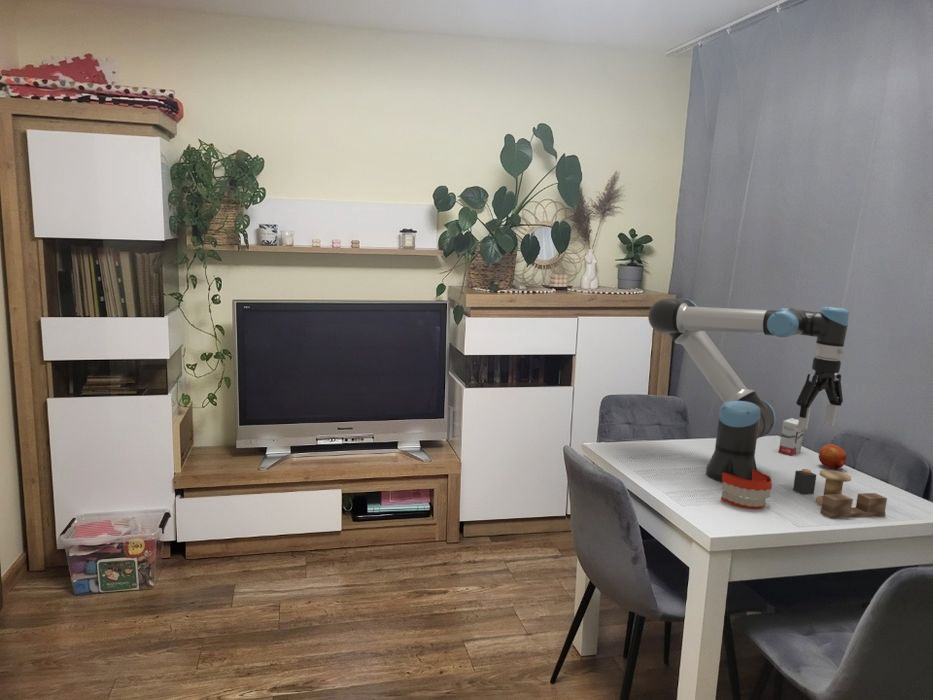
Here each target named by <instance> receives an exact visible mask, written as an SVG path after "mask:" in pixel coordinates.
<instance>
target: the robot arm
mask: <svg viewBox="0 0 933 700" xmlns="http://www.w3.org/2000/svg"><path fill="white" fill-rule="evenodd" d="M849 313H850V312H849V310H848V309H846V308H842V307H835V306H834V307H833V306H823V307H821V310H820V312H819V311H809V310H804V309H803V310H802V309H797V308H791V307H790V308H785V307H784V308H783V307H782V308H780V309H779V310H773V309H770V310H769V309H752V308H749V309H748V308H730V307H728V308H725V307H709V306H708V307H707V306H697V304H696V303H695V302H694V301H692V300H689V299H688V298H682V297H677V298H663V299H659V300H658V301H656V302H654V303H653V304H652V305H651V307H650V308H649V311H648V315H647V318H648V323H649V325H650V326H651V328H652V329H653V330H654V331H656V332H657V333H659V334H665V335H666V334H668V335H669V337H671V340H672V341H673V343H675V344H677V345H681V346H683V348H684V350H686V352H687V354H688V355H689V356H690V358H691V360H692V361H693V362H694V363H695V365H696V366H697V368H698V369H699V370H700V371H701V374H702V375H703V376H704V378H706V380H707V382H708V383H709V384H710V386H711V387H712V389H713V390H714V392H716V394H717V396H718V397H719V398H720V400H721V401H722V402H723V403H722V404H721V405H720V408H719V412H718V415H717V416H718V421H717V429H716V437H715V444H714V445H715V446H714V452H713V453H712V455H711V458H710V460H709V462H708V464H707V466H706V471H705V474H706V475H707V476H708V477H709V478H711V479H713V480H716V481H717V482H718V481H719V482H721V483H723V482H722V472H725V473H729V474H731V475H734V476H736V477H739V478H742V479H746V480H752V470H756V471H758V468H757V463H756V458H755V457H756V456H755V455H756V448H757V447H756V446H757V440H758V439H759V438H763V437H765V436H766V435H768V434H769V433H770V432H771V431H772V430H773V429H774V427H775V424H776V421H777V416H776V413H775V409H774V408H773V407H772V405H771V404H770V403H768V402H767V401H765V400H763V399H761V398H760V396H759V395H758V394H757V392H756V391H755V390H753V389H750V388H747V387H746V386H745V384H744V383H743V381H742V380H741V379H740V378H739V376H738V375H737V373H736V372H735V371H734V369H733V368H732V366H731V365H730V364H729V363H728V361H727V360H726V358H725V356H724V355H723V354H722V353H721V351H720V350H719V349H718V347H717V346H716V345H715V343H714V342H713V341H712V339H711V338H710V336H709V335H708V334H707V332H713V333H729V334H730V333H731V334H748V335H749V334H750V335H760V336H761V335H762V336H772V337H773V336H774V337H778V338H788V337H791V336H796V335H799V336H807V337H816V341H815V348H814V352H813V355H814V358H812V359H813V360H812V364H811V365H812V366H811V369H812V370H814V374H811V373H808V374H807V376H806V380H805V383H804V384H803V387H802V388H801V391H800V394H799V395H798V398H797V401H795V403H796V405H797V406H799V407H800V411H799V415H798V416H799V417H798V420H799V422H798V427H800V428H803V429H804V430H808V428H809V427H808V426H809V420H810V415H811V409H812V408H811V405H812V404H813V403H814V400H815V399H816V397H817V395H818V394H819V393H820V392H821V391H823V390H825V393H826V397H827V400H828V402H829V403H827V405H826V411H825V417H824V422H823V424H824V425H826V426H830V427H834V426H835V420H836V414H837V411H838V410H837V408H838V406H839V407H841V406H842V403H843V401H844V398H843V391H842V383H841V379H842V374H841V373H840V369H841V365H842V362H841V360H842V358H843V357H842V356H843V353H844V346H845V342H846V341H845V340H846V336H847V335H846V334H847V330H848V326H849V317H850V316H849V315H850V314H849ZM839 373H840V374H839Z"/></svg>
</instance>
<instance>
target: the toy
mask: <svg viewBox="0 0 933 700" xmlns="http://www.w3.org/2000/svg"><path fill="white" fill-rule="evenodd" d="M721 483H722V484H721V490H722V491H721V497H720V501H723V502H725V503H727V504H730V505H733V506H735V507H738V508H743V509H744V508H745V509H748V510H749V509H751V510H757V509H763V508H765V507H766V504H767V503H766V502H767V501H766V500H768V499H769V498H770V497H771V492H772V491H771V490H772V478H771V477H770V476H769V475H767V474H765V473H763V472H761V471H759V470H757V471H756V470H752V480H746V479H742V478H739V477H736V476H734V475H731V474H729V473H725V472H722V482H721Z"/></svg>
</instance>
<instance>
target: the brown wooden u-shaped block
mask: <svg viewBox="0 0 933 700" xmlns="http://www.w3.org/2000/svg"><path fill="white" fill-rule="evenodd" d="M822 496H823V502H822V505H821V508H820V511H819V513H820V514H821V515H824V516H826V517H828V518H829V519H846V518H847V519H850V518H852V519H853V518H868V517H869V518H871V517H873V518H874V516H876V517H886V507H887V502H888V498H887V497H886V496H883V495H881V494H879V493H877V492H872V493H871V492H868V493H867V492H866V493H857V497H856V503H855V507H853V501H854V500H853V498H851V497H849V496H846V495H844V494H842V493H841V494H829V495H824V494H823V495H822Z"/></svg>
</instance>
